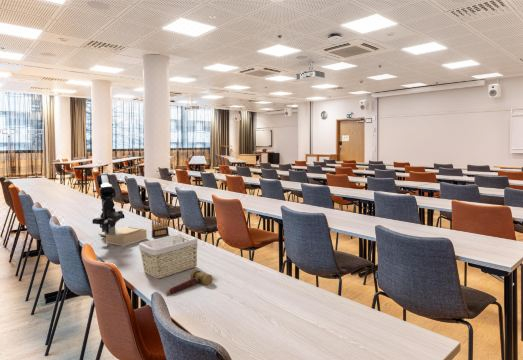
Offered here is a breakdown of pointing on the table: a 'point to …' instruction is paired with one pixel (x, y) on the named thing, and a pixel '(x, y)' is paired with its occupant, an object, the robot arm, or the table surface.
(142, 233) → the mailer box
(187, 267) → the storage basket
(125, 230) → the mailer lid
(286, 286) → the table surface
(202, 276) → the gavel
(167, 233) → the ammunition clip
